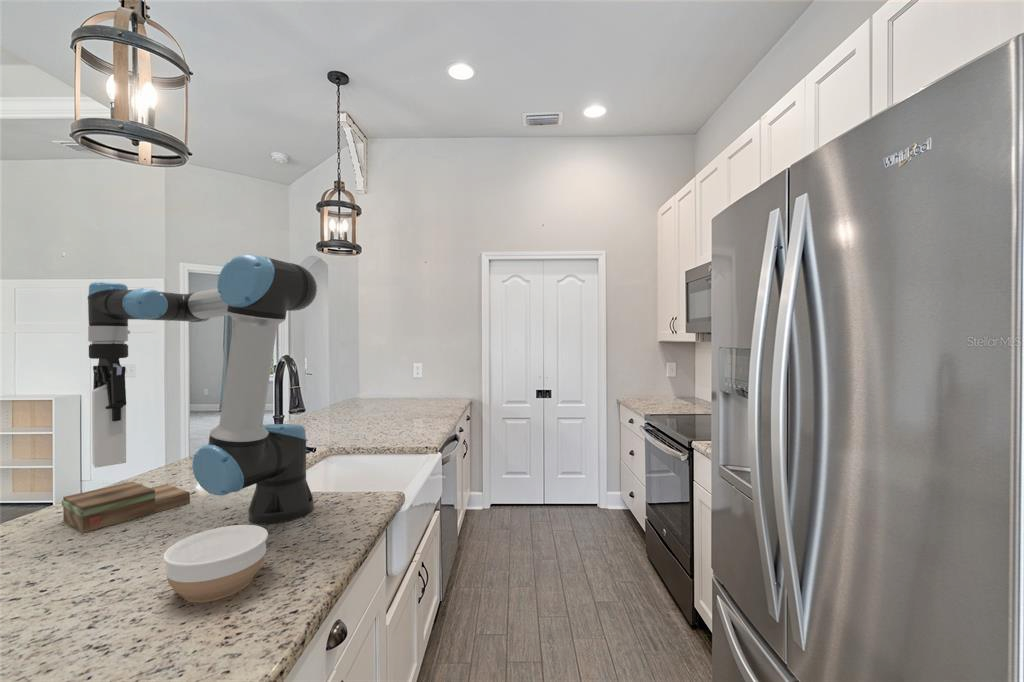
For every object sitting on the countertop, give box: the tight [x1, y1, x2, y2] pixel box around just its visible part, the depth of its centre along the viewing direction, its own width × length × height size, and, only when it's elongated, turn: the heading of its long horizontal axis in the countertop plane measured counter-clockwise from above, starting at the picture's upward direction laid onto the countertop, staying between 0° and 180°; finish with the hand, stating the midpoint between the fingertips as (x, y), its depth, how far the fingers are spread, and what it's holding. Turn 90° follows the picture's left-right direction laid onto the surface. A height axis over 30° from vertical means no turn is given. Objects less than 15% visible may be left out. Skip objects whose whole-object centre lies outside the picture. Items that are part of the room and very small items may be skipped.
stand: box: [61, 481, 191, 534], centre depth 116 cm, size 14×22×6 cm, turn 149°
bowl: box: [162, 524, 269, 603], centre depth 81 cm, size 16×16×8 cm
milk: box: [91, 384, 127, 469], centre depth 113 cm, size 6×6×22 cm
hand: (109, 432), depth 113 cm, fingers closed on milk, 7 cm apart
